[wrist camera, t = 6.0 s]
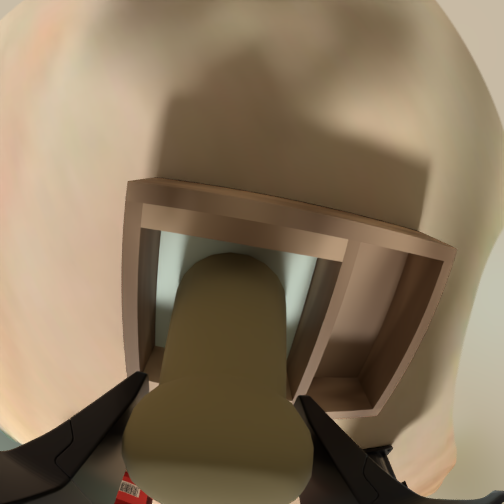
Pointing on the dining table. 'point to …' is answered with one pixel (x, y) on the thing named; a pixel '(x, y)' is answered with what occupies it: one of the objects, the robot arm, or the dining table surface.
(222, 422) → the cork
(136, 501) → the canned food
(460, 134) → the dining table surface
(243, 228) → the socket box
